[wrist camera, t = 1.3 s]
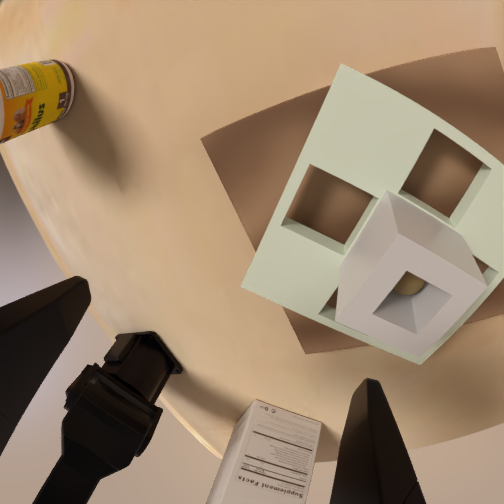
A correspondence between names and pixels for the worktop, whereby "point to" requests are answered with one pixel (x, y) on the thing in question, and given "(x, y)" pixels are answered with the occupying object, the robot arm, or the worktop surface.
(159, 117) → the worktop surface
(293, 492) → the supplement box
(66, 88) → the supplement bottle
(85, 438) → the robot arm
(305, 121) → the walnut board
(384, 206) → the flange plate
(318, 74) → the worktop surface
